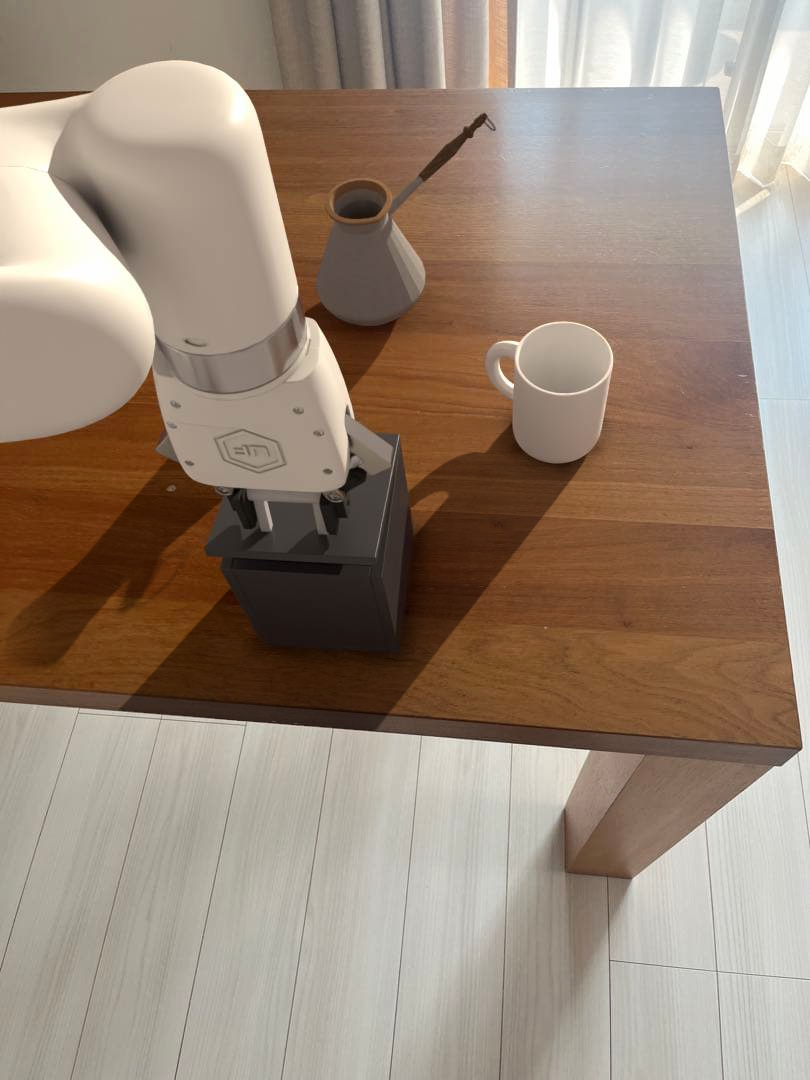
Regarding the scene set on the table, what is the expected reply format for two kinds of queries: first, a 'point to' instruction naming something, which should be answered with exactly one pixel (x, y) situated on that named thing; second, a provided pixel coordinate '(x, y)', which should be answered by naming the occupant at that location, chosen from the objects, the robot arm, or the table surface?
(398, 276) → the coffee pot
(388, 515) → the dark grey storage bin
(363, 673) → the table surface
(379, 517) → the chamber lid
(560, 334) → the mug
